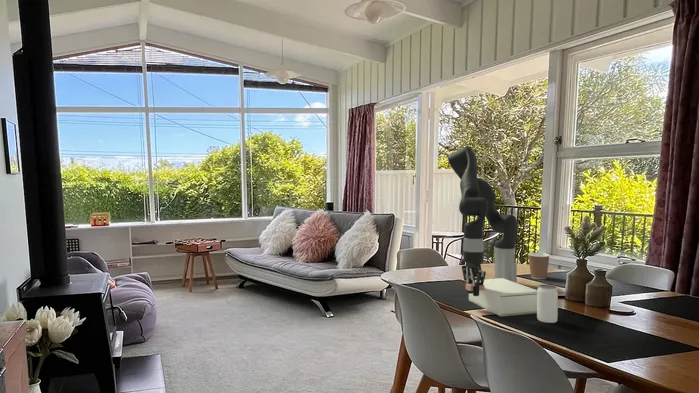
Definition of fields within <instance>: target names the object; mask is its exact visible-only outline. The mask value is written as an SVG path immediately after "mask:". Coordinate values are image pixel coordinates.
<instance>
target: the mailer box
mask: <svg viewBox="0 0 699 393" xmlns="http://www.w3.org/2000/svg"><path fill="white" fill-rule="evenodd" d="M468 301H469V302H472V303H473V304H475V305H477V306H479V307H481V308H483V309H485V310H486V311H489V312H491V313H493V314H495V315H497V316H499V317H501V318H502V317H509V316H510V317H511V316H512V317H513V316H520V315H532V314H537V293H536V294H524V295H511V296H497V295H495V294H492V293H490V292H488V291H485V290H479V296H473V293H471V294H469V293H468Z"/></svg>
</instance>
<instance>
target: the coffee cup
mask: <svg viewBox="0 0 699 393" xmlns="http://www.w3.org/2000/svg"><path fill="white" fill-rule="evenodd" d="M527 256H528V263H529V271H530V277H531V278H532V279H535V280H547V275H548V271H549V270H548V269H549V261H550V256H551V254H549V253H545V252H543V253H542V252H530V253H527Z"/></svg>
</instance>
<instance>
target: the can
mask: <svg viewBox="0 0 699 393" xmlns="http://www.w3.org/2000/svg"><path fill="white" fill-rule="evenodd" d="M536 290H537V313H536V318H537V320H538V322H542V323H546V324H555V323H557V322H558V316H559V314H558V311H559V310H558V304H559V303H558V302H559V298H558V296H559V295H558V294H559V293H558V290H557V286H556V285H552V284H539V285H538V288H537V289H536Z"/></svg>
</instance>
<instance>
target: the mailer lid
mask: <svg viewBox="0 0 699 393" xmlns="http://www.w3.org/2000/svg"><path fill="white" fill-rule="evenodd" d="M475 282H476V280H475ZM480 282H481V281H480ZM465 290H469V291H473V283H470V284H467V283H465ZM479 290H485V291H488V292H490V293H492V294H495V295H497V296H511V295H524V294H536V293H537V290H538V289H534V288H532V287H528V286H526V285H523V284H522V283H521V284H520V283H518V282H517V283H515V282H512V281H509V280H507V279H504V278H497V279H494V278H488V279H484V283H483V285H482V286H479Z"/></svg>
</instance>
